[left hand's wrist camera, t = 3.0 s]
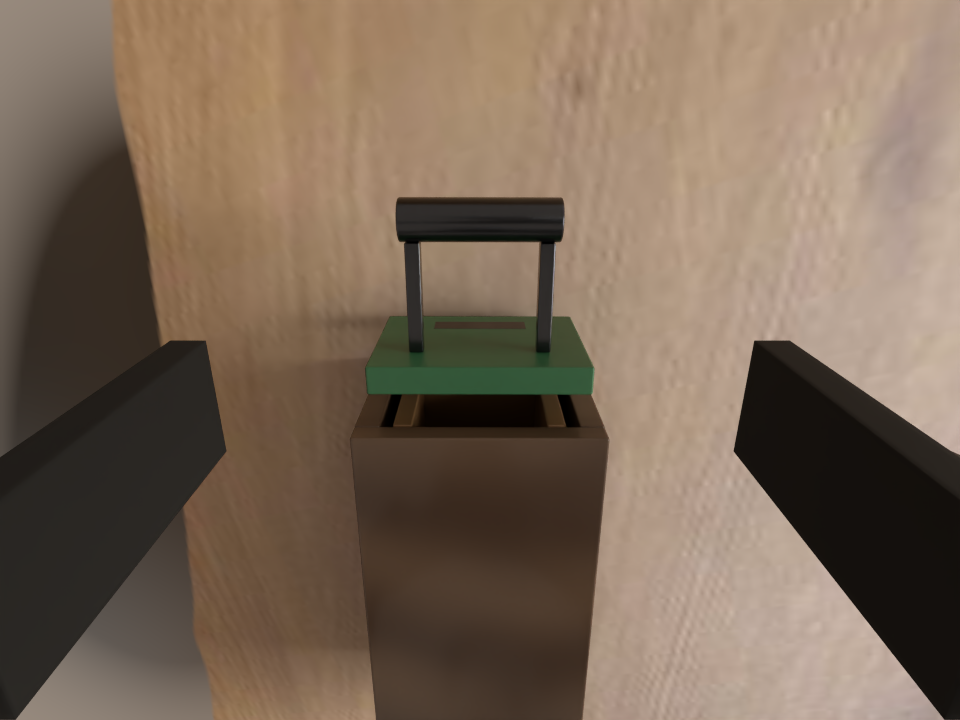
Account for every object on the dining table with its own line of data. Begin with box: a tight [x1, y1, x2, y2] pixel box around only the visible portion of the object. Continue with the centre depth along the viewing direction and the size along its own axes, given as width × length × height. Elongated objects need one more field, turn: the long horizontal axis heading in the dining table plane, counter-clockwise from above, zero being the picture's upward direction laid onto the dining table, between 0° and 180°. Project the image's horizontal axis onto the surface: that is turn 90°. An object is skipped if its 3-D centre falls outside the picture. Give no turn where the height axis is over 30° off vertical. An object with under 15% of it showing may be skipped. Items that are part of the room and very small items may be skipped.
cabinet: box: [350, 394, 609, 720], centre depth 31 cm, size 21×10×9 cm, turn 0°
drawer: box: [365, 197, 594, 427], centre depth 28 cm, size 26×9×7 cm, turn 0°
